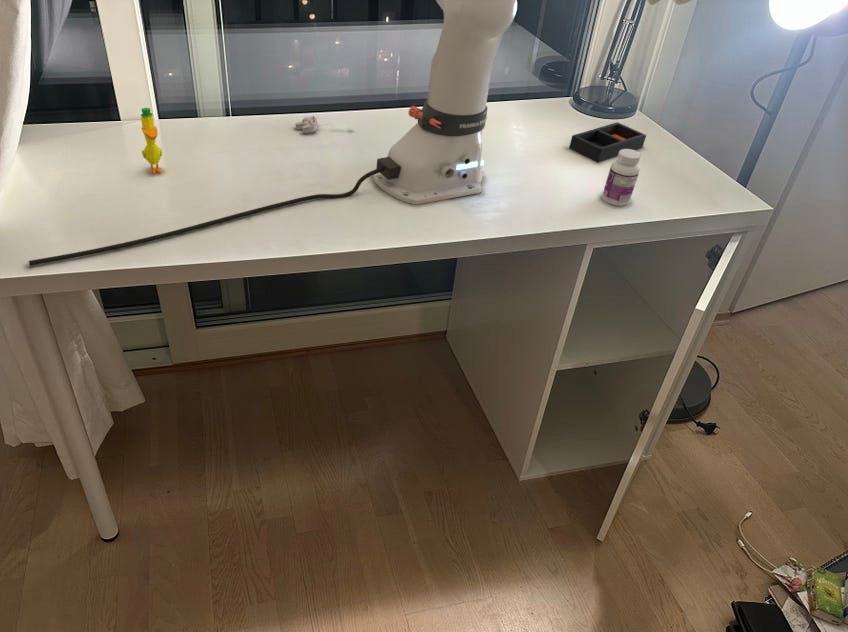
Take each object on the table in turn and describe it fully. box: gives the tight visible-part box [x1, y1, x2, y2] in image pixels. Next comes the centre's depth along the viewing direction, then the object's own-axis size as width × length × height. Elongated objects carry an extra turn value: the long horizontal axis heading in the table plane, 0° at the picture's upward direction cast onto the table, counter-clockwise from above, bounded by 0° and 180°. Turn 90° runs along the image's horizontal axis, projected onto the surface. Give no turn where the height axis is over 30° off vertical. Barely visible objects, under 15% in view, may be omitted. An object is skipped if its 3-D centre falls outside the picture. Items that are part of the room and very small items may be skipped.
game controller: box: [294, 115, 350, 134], centre depth 154 cm, size 6×12×3 cm, turn 109°
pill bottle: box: [601, 149, 642, 207], centre depth 134 cm, size 5×5×10 cm
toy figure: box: [140, 107, 163, 175], centre depth 131 cm, size 7×4×12 cm, turn 24°
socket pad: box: [568, 121, 647, 164], centre depth 155 cm, size 8×15×3 cm, turn 126°
